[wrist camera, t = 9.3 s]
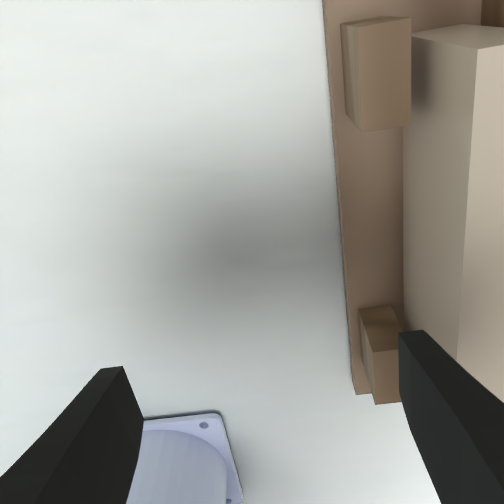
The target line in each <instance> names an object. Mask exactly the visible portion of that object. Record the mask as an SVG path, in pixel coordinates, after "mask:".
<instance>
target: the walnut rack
mask: <svg viewBox="0 0 504 504" xmlns="http://www.w3.org/2000/svg"><path fill="white" fill-rule="evenodd" d="M322 3H323V16H324V28H325V41H326V54H327V66H328V79H329V92H330V104H331V117H332V130H333V142H334V155H335V167H336V180H337V193H338V205H339V218H340V231H341V243H342V256H343V269H344V281H345V294H346V306H347V319H348V332H349V344H350V357H351V370H352V381H353V385H354V389H355V393H356V395H360V394H369V393H372V395H373V399H374V402H375V405H377V404H387V403H396V402H402V400H401V397H400V393H399V358H398V332H404V284H403V127H404V126H410V125H411V33H414V32H420V31H425V30H431V29H437V28H442V27H448V26H454V25H459V24H468V25H480V26H491V27H502V28H504V0H322Z"/></svg>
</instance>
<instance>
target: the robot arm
mask: <svg viewBox="0 0 504 504" xmlns="http://www.w3.org/2000/svg"><path fill="white" fill-rule="evenodd" d="M398 358H399V393H400V397H401V400H402V404H403V407H404V411H405V414H406V417H407V421H408V424H409V427H410V430H411V433H412V435H413V438H414V440H415V442H416V445H417V447H418V450H419V452H420V454H421V457H422V459H423V461H424V464H425V466H426V468H427V471H428V473H429V476H430V478H431V480H432V483H433V485H434V487H435V490H436V492H437V494H438V497H439V499H440V501H441V504H504V403H503V402H502V401H501V400H500V399H499V398H497V397H496V396H495V395H494V394H493V393H491V392H490V391H489V390H488V389H487V388H486V387H485V386H483V385H482V384H481V383H480V382H479V381H478V380H477V379H475V378H474V377H473V376H472V375H471V374H470V373H469V372H467V371H466V370H465V369H464V368H463V367H462V366H461V365H460V364H459V363H458V362H457V361H456V360H455V359H453V358H452V357H451V356H450V355H449V354H448V353H447V352H446V351H445V350H444V349H443V348H442V347H441V346H440V345H439V344H438V343H437V342H436V341H435V340H434V339H433V338H432V337H431V336H430V335H429V334H428V333H427V332H426V331H424V330H415V331H407V332H398ZM202 422H206V423H202ZM242 501H243V492H242V489H241V485H240V482H239V478H238V475H237V471H236V467H235V464H234V460H233V457H232V453H231V450H230V446H229V442H228V439H227V435H226V432H225V428H224V425H223V421H222V418H221V416H219V415H218V414H215V413H210V414H201V415H192V416H183V417H174V418H165V419H156V420H147V421H144V418H143V416H142V413H141V411H140V408H139V406H138V403H137V401H136V398H135V396H134V393H133V391H132V388H131V386H130V383H129V381H128V378H127V376H126V373H125V370H124V368H123V366H119V367H111V368H103V369H100V370H99V371H98V372H97V373H96V374H95V376H94V377H93V378H92V379H91V380H90V381H89V382H88V383H87V385H86V386H85V387H84V388H83V389H82V390H81V391H80V393H79V394H78V395H77V396H76V397H75V398H74V399H73V401H72V402H71V403H70V404H69V405H68V406H67V407H66V409H65V410H64V411H63V412H62V413H61V414H60V415H59V416H58V417H57V419H56V420H55V421H54V422H53V423H52V424H51V425H50V426H49V428H48V429H47V430H46V431H45V432H44V433H43V434H42V435H41V436H40V437H39V438H38V439H37V440H36V441H35V442H34V443H33V445H32V446H31V447H30V448H29V449H28V450H27V451H26V452H25V453H24V454H23V455H22V456H21V457H20V458H19V459H18V460H17V461H16V462H15V463H14V464H13V465H12V466H11V467H10V468H9V469H8V470H7V471H6V472H5V473H4V474H3V475H2V476H1V477H0V504H240V503H242Z"/></svg>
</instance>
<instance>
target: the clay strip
mask: <svg viewBox="0 0 504 504" xmlns="http://www.w3.org/2000/svg"><path fill="white" fill-rule="evenodd" d="M403 284H404V332H407V331H415V330H424V331H426V332H427V333H428V334H429V335H430V336H431V337H432V338H433V339H434V340H435V341H436V342H437V343H438V344H439V345H440V346H441V347H442V348H443V349H444V350H445V351H446V352H447V353H448V354H449V355H450V356H451V357H452V358H453V359H455V360H456V361H457V362H458V363H459V364H460V365H461V366H462V367H463V368H464V369H465V370H466V371H467V372H469V373H470V374H471V375H472V376H473V377H474V378H475V379H477V380H478V381H479V382H480V383H481V384H482V385H483V386H485V387H486V388H487V389H488V390H489V391H490V392H491V393H493V394H494V395H495V396H496V397H497V398H499V399H500V400H501V401H502V402H503V403H504V28H502V27H491V26H480V25H468V24H459V25H454V26H448V27H442V28H437V29H431V30H425V31H420V32H414V33H411V125H410V126H404V127H403Z"/></svg>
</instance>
